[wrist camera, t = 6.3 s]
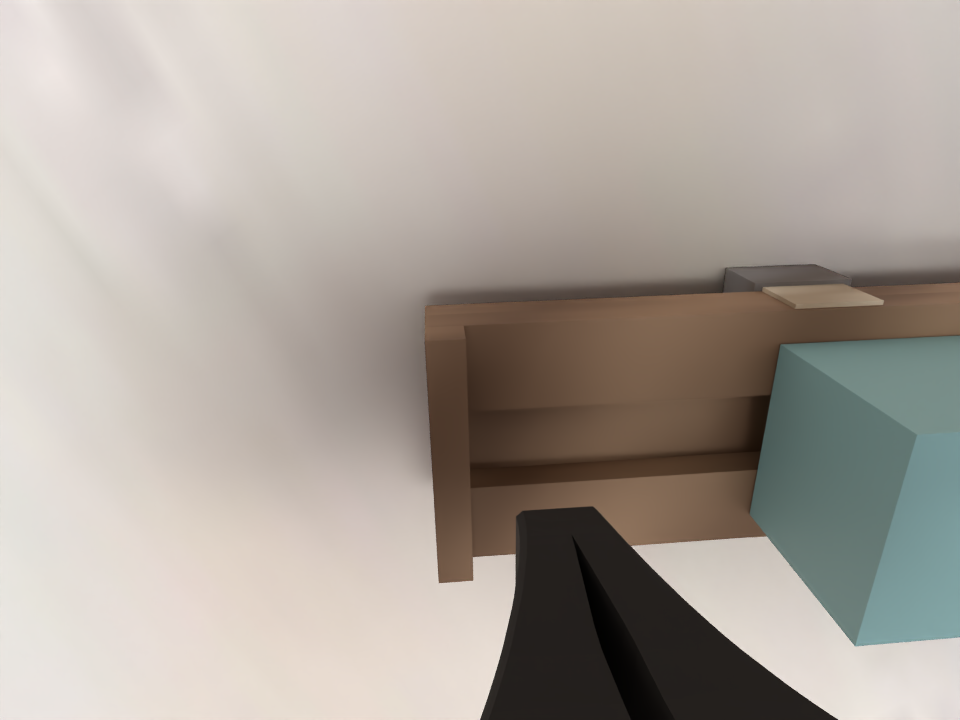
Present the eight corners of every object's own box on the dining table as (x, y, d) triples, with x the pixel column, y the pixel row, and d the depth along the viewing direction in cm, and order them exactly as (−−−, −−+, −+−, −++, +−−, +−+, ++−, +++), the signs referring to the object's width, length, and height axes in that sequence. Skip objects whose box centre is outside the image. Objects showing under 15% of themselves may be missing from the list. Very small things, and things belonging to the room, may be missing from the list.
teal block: (947, 323, 14) (1178, 418, 10) (900, 485, 16) (1078, 626, 12) (763, 332, 14) (917, 434, 10) (735, 496, 16) (854, 645, 11)
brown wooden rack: (1090, 253, 16) (1272, 291, 13) (1015, 457, 19) (1150, 536, 15) (424, 280, 15) (423, 330, 12) (436, 494, 18) (439, 589, 14)
